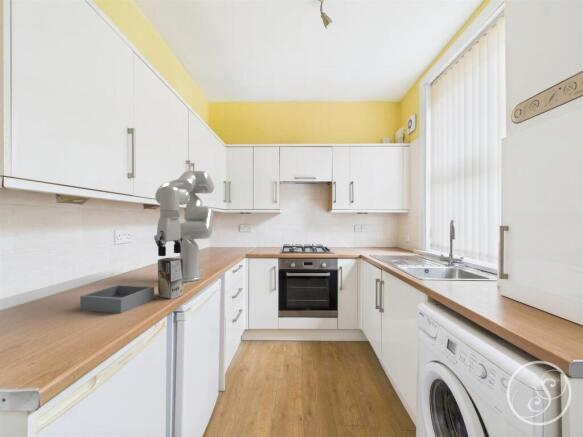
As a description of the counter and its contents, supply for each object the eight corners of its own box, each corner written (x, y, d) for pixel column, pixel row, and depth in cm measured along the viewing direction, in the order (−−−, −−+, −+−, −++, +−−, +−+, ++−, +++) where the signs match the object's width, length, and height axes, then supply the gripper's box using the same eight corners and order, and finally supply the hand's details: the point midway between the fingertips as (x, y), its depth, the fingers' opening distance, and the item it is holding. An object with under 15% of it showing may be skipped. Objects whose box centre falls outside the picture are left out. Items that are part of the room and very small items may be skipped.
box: (118, 296, 108) (118, 284, 108) (154, 298, 104) (154, 286, 104) (80, 309, 92) (80, 296, 92) (121, 313, 89) (120, 299, 89)
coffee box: (184, 295, 109) (183, 258, 109) (171, 299, 103) (170, 260, 103) (170, 292, 113) (170, 257, 113) (157, 296, 108) (156, 259, 108)
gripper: (175, 215, 117) (175, 251, 117) (147, 214, 100) (147, 257, 100) (189, 215, 116) (189, 252, 116) (163, 214, 99) (163, 257, 99)
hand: (169, 254), depth 108 cm, fingers open, 9 cm apart
